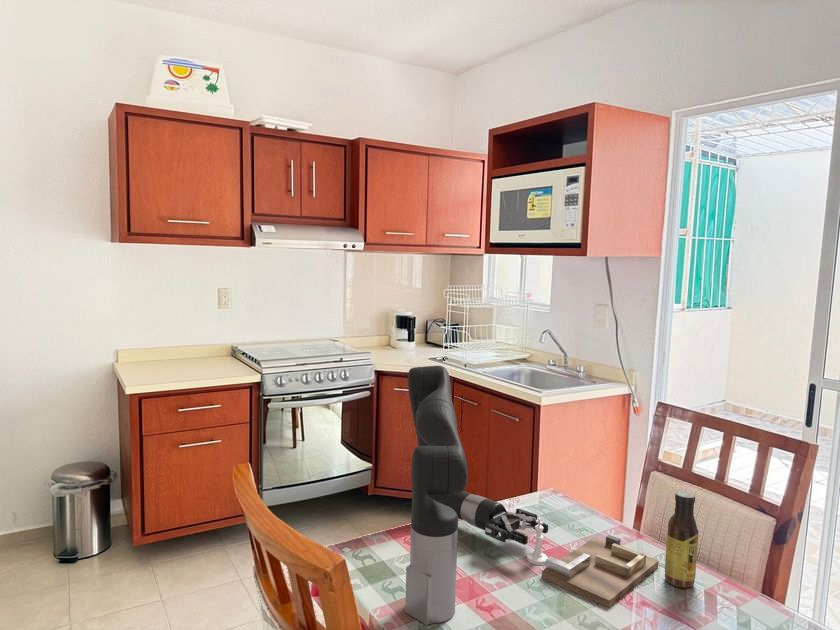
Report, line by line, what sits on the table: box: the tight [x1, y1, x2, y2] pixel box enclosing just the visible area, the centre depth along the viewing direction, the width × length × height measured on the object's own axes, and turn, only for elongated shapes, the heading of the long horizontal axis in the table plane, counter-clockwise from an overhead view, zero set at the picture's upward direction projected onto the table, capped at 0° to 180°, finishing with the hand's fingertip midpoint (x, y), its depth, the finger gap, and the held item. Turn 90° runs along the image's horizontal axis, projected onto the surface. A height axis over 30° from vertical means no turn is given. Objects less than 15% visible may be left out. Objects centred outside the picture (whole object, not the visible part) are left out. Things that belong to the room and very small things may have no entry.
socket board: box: [541, 534, 659, 608], centre depth 136 cm, size 24×16×4 cm, turn 135°
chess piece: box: [526, 517, 549, 566], centre depth 140 cm, size 5×5×10 cm
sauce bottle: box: [664, 490, 699, 589], centre depth 132 cm, size 7×6×20 cm
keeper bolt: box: [545, 553, 591, 578], centre depth 135 cm, size 9×6×2 cm, turn 135°
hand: (537, 534), depth 140 cm, fingers open, 8 cm apart
